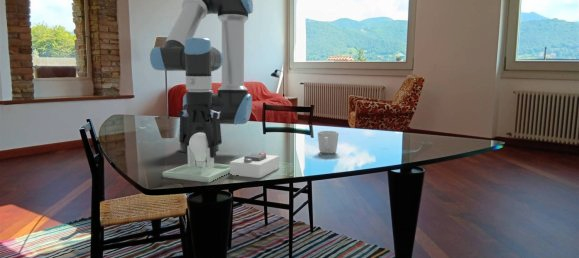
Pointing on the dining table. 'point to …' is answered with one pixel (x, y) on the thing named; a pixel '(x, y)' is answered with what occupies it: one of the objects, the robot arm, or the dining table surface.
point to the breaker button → (255, 157)
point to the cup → (328, 141)
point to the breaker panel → (254, 166)
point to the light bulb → (199, 148)
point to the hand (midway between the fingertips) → (201, 166)
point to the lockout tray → (197, 172)
